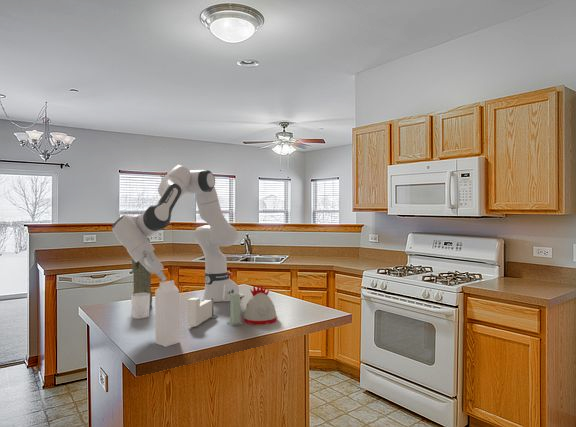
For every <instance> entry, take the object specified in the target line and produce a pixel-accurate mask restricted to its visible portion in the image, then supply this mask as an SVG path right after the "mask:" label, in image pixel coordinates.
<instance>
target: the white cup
mask: <svg viewBox="0 0 576 427" xmlns="http://www.w3.org/2000/svg"><path fill="white" fill-rule="evenodd" d="M130 298H131V310H132V318H133V319H137V320H138V319H139V320H141V319H146V318H149V317H150V309H151V308H150V293H135V294H133V293H132V294H131V297H130Z"/></svg>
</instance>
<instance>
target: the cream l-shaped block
mask: <svg viewBox="0 0 576 427" xmlns="http://www.w3.org/2000/svg"><path fill="white" fill-rule="evenodd" d="M211 316H212V300H202V301H201V298H200V297H190V298H188V299H187V326H188V327H189V326H190V327H198V326H199V325H200V324H202V323H203V322H205V321H207V320H209V319H208V318H210V317H211Z"/></svg>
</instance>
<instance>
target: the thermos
mask: <svg viewBox="0 0 576 427" xmlns="http://www.w3.org/2000/svg"><path fill="white" fill-rule="evenodd" d="M147 239H148V240H149V242H150V243H151V240H150V237H149V238H147ZM138 247H139V246H138ZM131 260H132V262H131V263H132V265H131V267H132V268H131V269H132V271H131V272H132V275H133V293H132V294H135V293H150V308H149V309H151V308H152V307H153V303H152V302H153V292H152V286H151V285H152V273H150V272H149V271H147V270H146V268H145V267H144V266H143V265H142V264H141V263H140V262H139V261H138V262H137V263H136V262H135V261H134V260H133V258H132V257H131Z"/></svg>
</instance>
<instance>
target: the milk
mask: <svg viewBox="0 0 576 427" xmlns="http://www.w3.org/2000/svg"><path fill="white" fill-rule="evenodd" d="M154 298H155V299H154V301H155V302H154V304H155V305H154V308H155V311H154V312H155V315H154V316H155V317H154V318H155V319H154V320H155V322H154V324H155V344H156V345H159V346H161V347H165V348H166V347H170V346H173V345H176V344H179V343H181V341H180V339H181V338H180V337H181V336H180V330H181V328H180V290H179V288H178V287H177V286H176V285H175V280H173V279H172V280H167V281H166V280H165V281H160V282H159V287H158V288H157V289H155V290H154Z"/></svg>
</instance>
